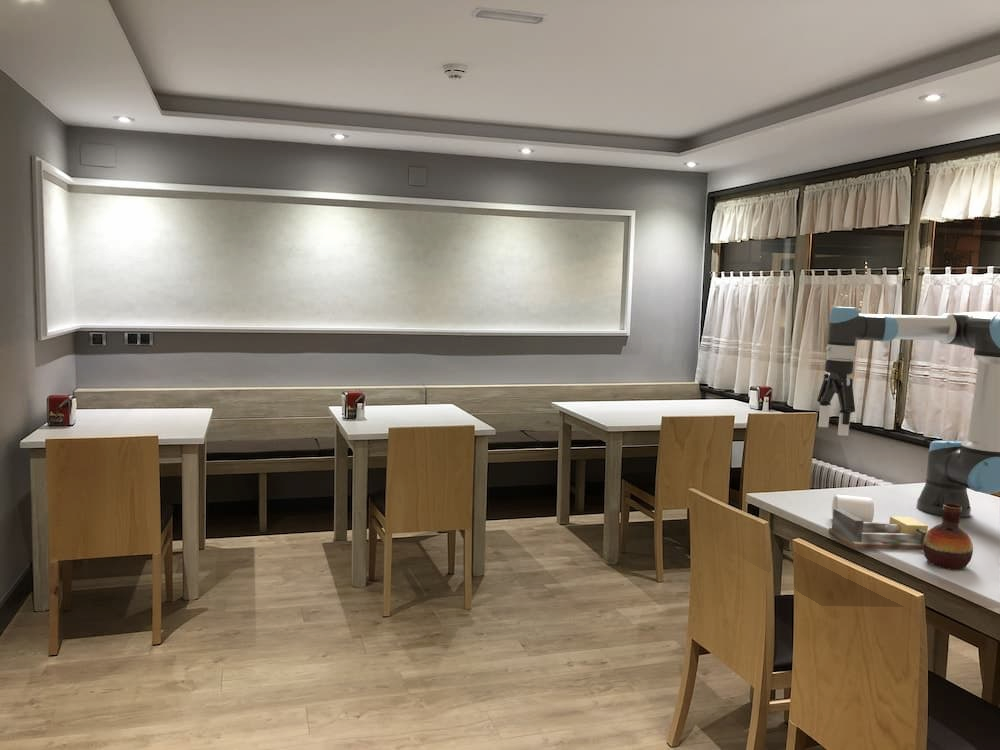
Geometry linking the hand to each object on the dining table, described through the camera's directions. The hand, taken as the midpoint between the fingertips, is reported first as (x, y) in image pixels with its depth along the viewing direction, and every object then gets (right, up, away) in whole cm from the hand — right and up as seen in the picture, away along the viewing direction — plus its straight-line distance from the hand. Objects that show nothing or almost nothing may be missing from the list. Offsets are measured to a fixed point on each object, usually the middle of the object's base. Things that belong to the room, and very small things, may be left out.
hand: (832, 431), depth 229 cm
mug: (+7, -28, +5) cm, 29 cm away
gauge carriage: (+14, -28, -15) cm, 35 cm away
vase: (+15, -32, -31) cm, 47 cm away
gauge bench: (+8, -29, -14) cm, 33 cm away
